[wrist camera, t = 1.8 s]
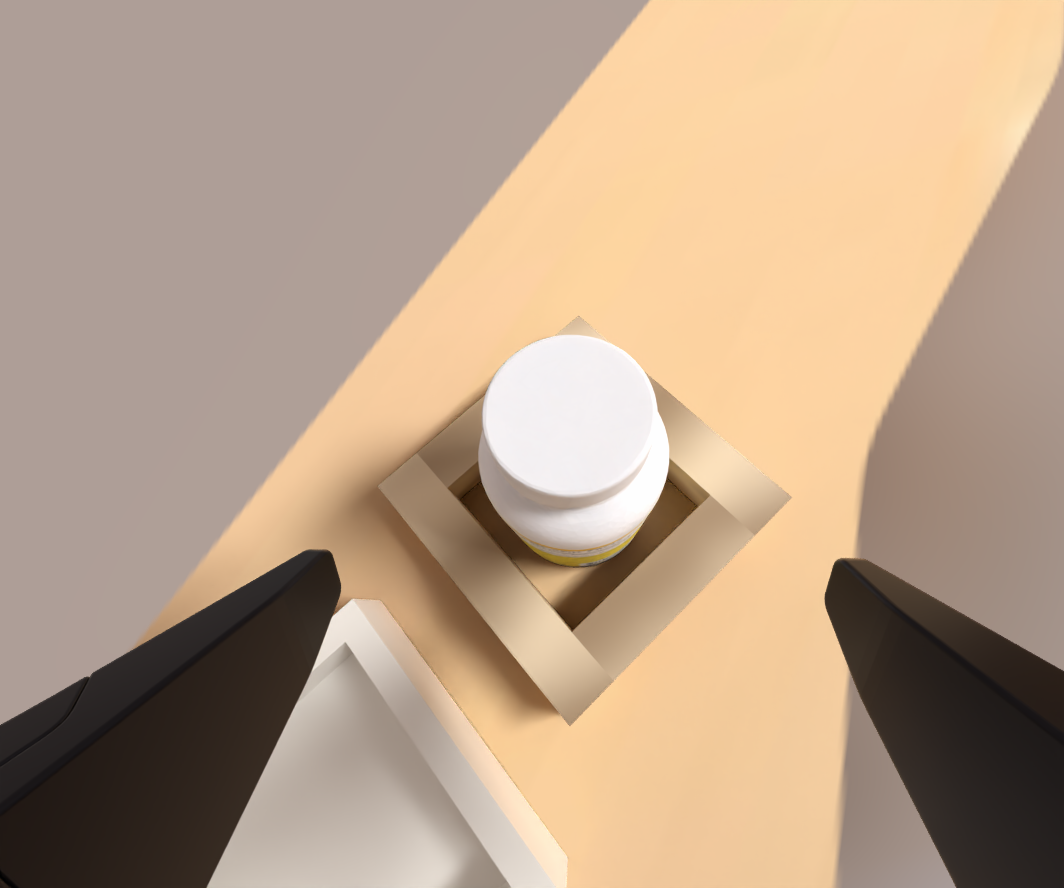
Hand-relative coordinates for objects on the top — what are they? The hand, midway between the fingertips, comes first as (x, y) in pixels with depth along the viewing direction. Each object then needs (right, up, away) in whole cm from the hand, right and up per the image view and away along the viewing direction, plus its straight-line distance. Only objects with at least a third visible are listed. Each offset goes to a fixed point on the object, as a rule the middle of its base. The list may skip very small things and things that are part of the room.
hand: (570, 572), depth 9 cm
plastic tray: (-7, -11, +8) cm, 16 cm away
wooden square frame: (+1, 0, +11) cm, 11 cm away
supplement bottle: (+1, 0, +11) cm, 11 cm away
